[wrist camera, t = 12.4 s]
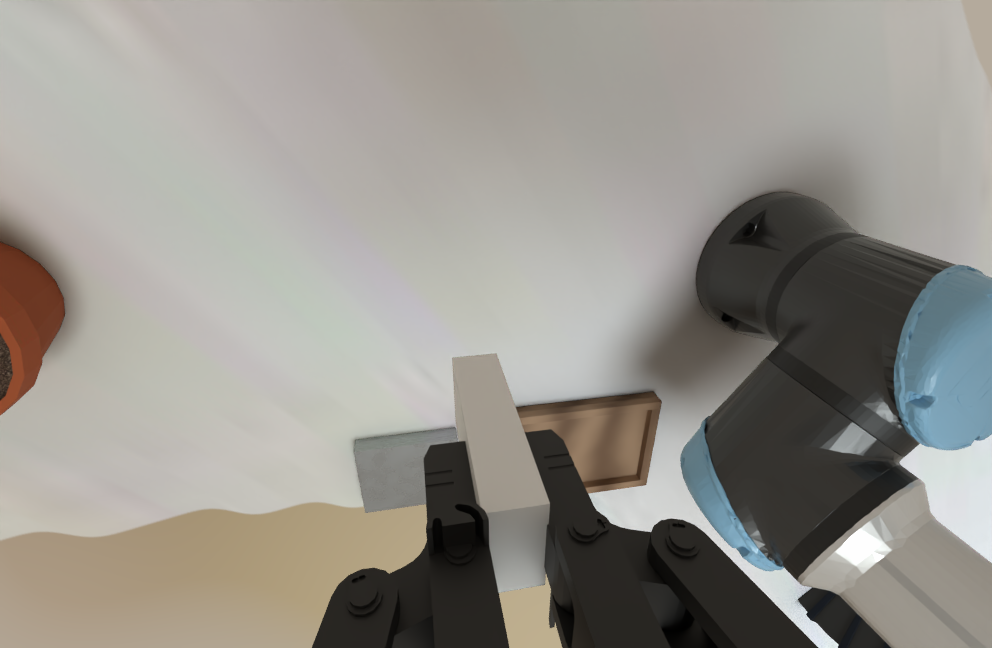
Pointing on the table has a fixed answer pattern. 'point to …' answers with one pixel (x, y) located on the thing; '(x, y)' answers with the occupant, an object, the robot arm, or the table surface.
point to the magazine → (840, 620)
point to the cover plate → (396, 468)
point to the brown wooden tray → (602, 436)
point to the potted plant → (24, 322)
